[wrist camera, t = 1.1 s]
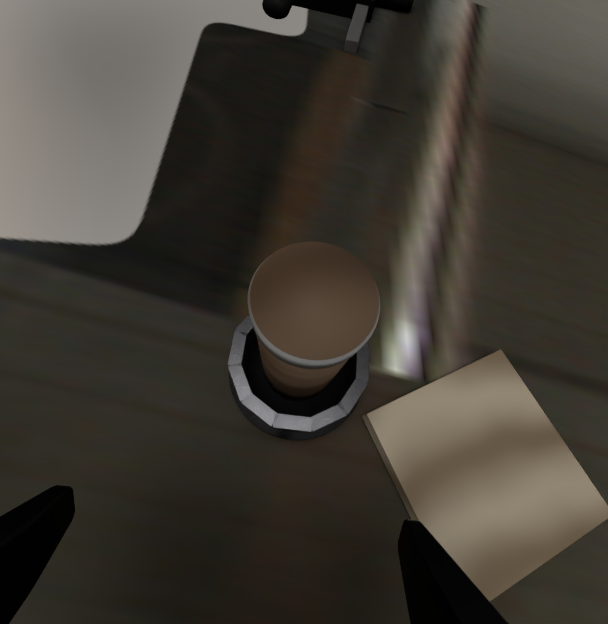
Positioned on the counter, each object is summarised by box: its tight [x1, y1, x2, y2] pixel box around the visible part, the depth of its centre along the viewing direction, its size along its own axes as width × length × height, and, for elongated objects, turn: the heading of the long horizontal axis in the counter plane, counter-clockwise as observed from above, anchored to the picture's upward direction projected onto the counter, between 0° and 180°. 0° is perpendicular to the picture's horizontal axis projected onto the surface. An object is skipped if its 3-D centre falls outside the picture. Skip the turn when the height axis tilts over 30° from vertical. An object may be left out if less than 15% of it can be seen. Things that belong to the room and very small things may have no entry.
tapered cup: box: [248, 242, 380, 402], centre depth 18 cm, size 5×5×12 cm
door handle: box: [262, 0, 414, 53], centre depth 43 cm, size 3×20×16 cm
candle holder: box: [228, 314, 369, 440], centre depth 22 cm, size 10×10×4 cm
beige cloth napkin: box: [362, 350, 608, 601], centre depth 22 cm, size 12×12×2 cm
